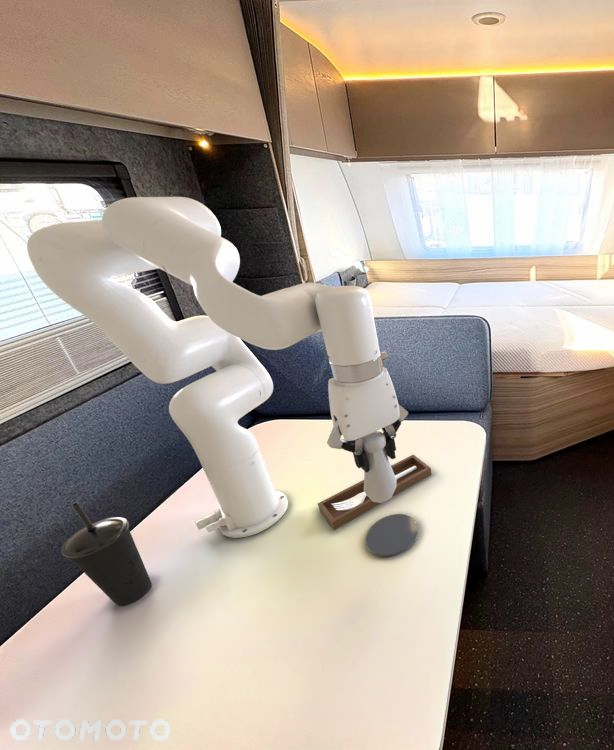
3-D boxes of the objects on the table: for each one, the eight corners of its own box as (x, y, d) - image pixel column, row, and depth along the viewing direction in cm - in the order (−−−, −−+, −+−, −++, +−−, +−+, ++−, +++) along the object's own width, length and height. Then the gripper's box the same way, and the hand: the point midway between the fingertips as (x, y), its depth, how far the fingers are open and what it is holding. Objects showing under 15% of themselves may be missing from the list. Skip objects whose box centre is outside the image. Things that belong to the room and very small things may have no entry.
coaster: (382, 566, 69) (381, 564, 69) (357, 535, 76) (356, 533, 75) (428, 535, 75) (428, 532, 75) (402, 508, 82) (401, 506, 82)
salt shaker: (389, 508, 68) (378, 446, 62) (359, 504, 69) (346, 443, 64) (403, 486, 73) (394, 428, 68) (375, 483, 74) (365, 425, 69)
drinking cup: (94, 622, 62) (24, 531, 53) (115, 583, 68) (55, 495, 59) (153, 603, 64) (95, 513, 56) (167, 566, 71) (118, 481, 62)
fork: (420, 471, 92) (419, 465, 91) (338, 517, 79) (336, 510, 79) (413, 465, 94) (412, 459, 93) (332, 509, 82) (330, 502, 81)
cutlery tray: (333, 530, 77) (331, 522, 76) (319, 510, 82) (317, 503, 81) (431, 474, 92) (430, 467, 91) (414, 460, 97) (413, 454, 96)
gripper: (393, 347, 68) (407, 434, 76) (292, 377, 57) (321, 474, 65) (416, 358, 63) (429, 450, 71) (311, 393, 52) (339, 496, 60)
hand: (377, 461), depth 68 cm, fingers closed on salt shaker, 4 cm apart
